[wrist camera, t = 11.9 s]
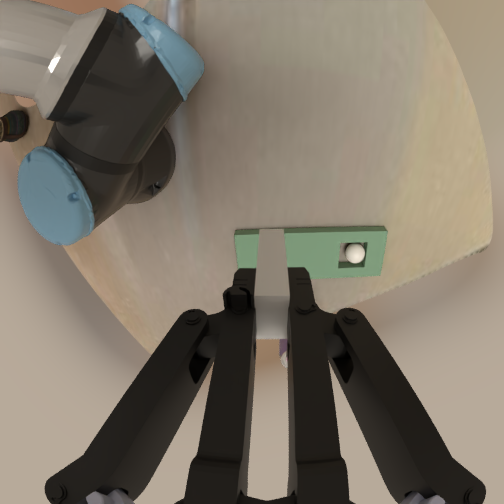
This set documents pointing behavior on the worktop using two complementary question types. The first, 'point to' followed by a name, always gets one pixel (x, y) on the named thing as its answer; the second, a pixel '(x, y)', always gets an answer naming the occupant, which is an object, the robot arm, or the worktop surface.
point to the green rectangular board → (320, 250)
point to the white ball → (355, 253)
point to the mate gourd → (13, 126)
